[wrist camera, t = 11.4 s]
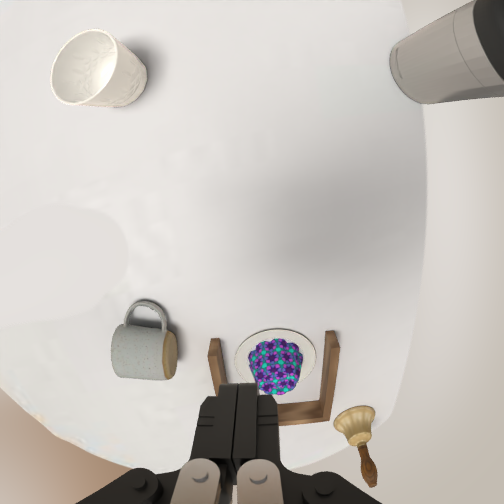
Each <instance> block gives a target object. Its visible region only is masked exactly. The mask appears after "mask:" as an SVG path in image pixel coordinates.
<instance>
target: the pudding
mask: <svg viewBox="0 0 504 504" xmlns="http://www.w3.org/2000/svg"><path fill="white" fill-rule="evenodd" d="M272 338H283V339H274V340H272V341H271V342H267V341H264V340H267V339H272ZM284 339H288V340H290V341H293V342H294V343H296V344H297V345H298V346H299V347H300V348H301V349H302V351H303V354H304V361H303V355H302V354H301V353H299V347H298V346H297V345H296V344H294V343H287V342H286V341H285V340H284ZM262 341H263V342H262ZM259 342H260V343H259ZM258 343H259V344H258ZM256 344H258V345H256ZM255 345H256V350H254V351H251V352H250V350H251V349H252V348H253V347H254V346H255ZM249 352H250V354H249ZM248 354H249V357H248ZM247 357H248V359H249V362H250V365H249V366H250V368H249V366H248V363H247ZM302 361H303V364H302ZM315 362H316V353H315V349H314V347H313V345H312V344H311V343H310V341H309V340H308V339H306V338H305V337H304V336H302V335H300V334H298V333H296V332H292V331H289V330H268V331H264V332H260V333H258V334H255V335H253V336H251V337H250V338H248V339H247V340H246V341H245V342H244V343H242V345H241V346H240V347H239V349H238V351H237V353H236V356H235V366H236V369H237V371H238V373H239V375H240V376H241V377H242V378H243V379H244V380H245V381H246V382H248V383H257V382H258V386H259V389H260V390H263V391H264V392H265V393H266V394H271V395H273V394H277V395H282V394H285V393H286V392H287V391H291V390H293V389H294V388H295V386H296V384H297V383H299V382H301V381H302V380H303V379H305V378H306V377H307V376H308V375H309V374H310V373H311V371H312V369H313V368H314V365H315ZM250 369H251V370H250Z"/></svg>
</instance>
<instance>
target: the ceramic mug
mask: <svg viewBox="0 0 504 504" xmlns="http://www.w3.org/2000/svg"><path fill="white" fill-rule="evenodd" d="M137 306H146V307H149V308H150V309H152V310H155V311H156V312H158V314H159V316H160V318H161V323H162V329H159V328H147V327H141V326H135V325H129V319H130V315H131V313H132V311H133V309H134V308H135V307H137ZM177 355H178V352H177V341H176V337H175V335H174V334H173V333H172V332H171V331H168V330H167V322H166V318H165V315H164V312H163V311H162V309H161V308H160V307H159V306H158V305H156V304H154V303H152V302H148V301H141V302H137V303H135V304H133V305H132V306H131V307H130V308H129V309H128V311H127V313H126V316H125V319H124V324H121V325H119V326H118V327H117V328H116V330H115V332H114V334H113V338H112V344H111V361H112V366H113V369H114V372H115V373H116V375H117V376H119V377H121V378H133V379H147V380H168V379H171V378H172V377H173V376H174V375H175V372H176V367H177Z"/></svg>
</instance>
